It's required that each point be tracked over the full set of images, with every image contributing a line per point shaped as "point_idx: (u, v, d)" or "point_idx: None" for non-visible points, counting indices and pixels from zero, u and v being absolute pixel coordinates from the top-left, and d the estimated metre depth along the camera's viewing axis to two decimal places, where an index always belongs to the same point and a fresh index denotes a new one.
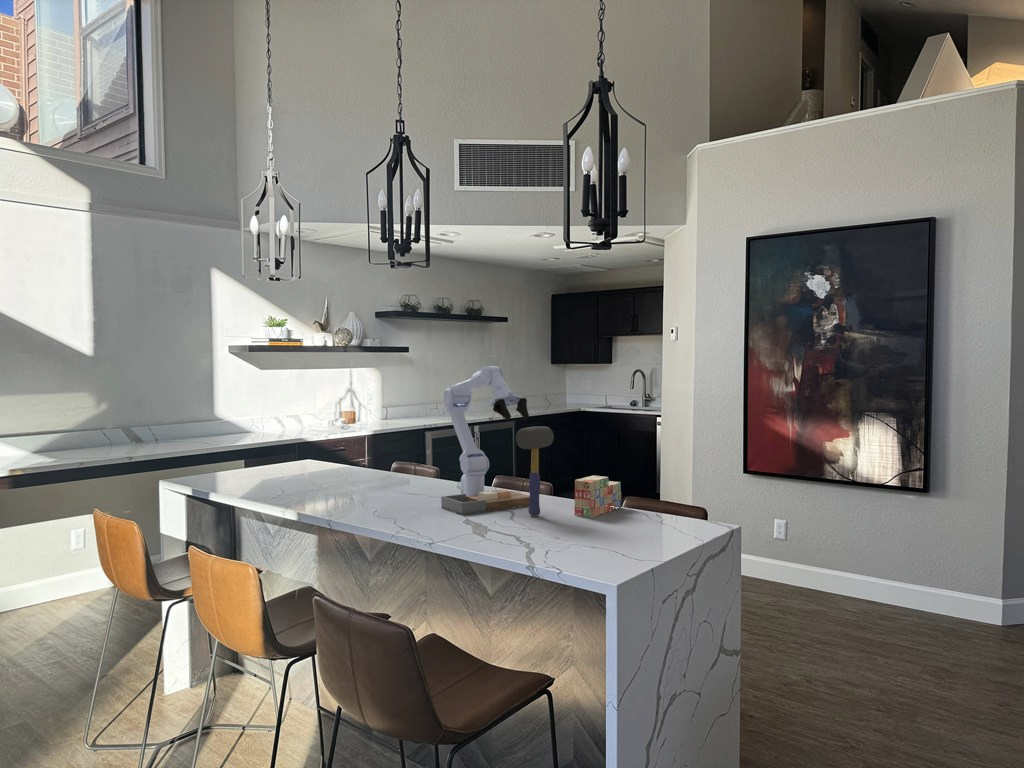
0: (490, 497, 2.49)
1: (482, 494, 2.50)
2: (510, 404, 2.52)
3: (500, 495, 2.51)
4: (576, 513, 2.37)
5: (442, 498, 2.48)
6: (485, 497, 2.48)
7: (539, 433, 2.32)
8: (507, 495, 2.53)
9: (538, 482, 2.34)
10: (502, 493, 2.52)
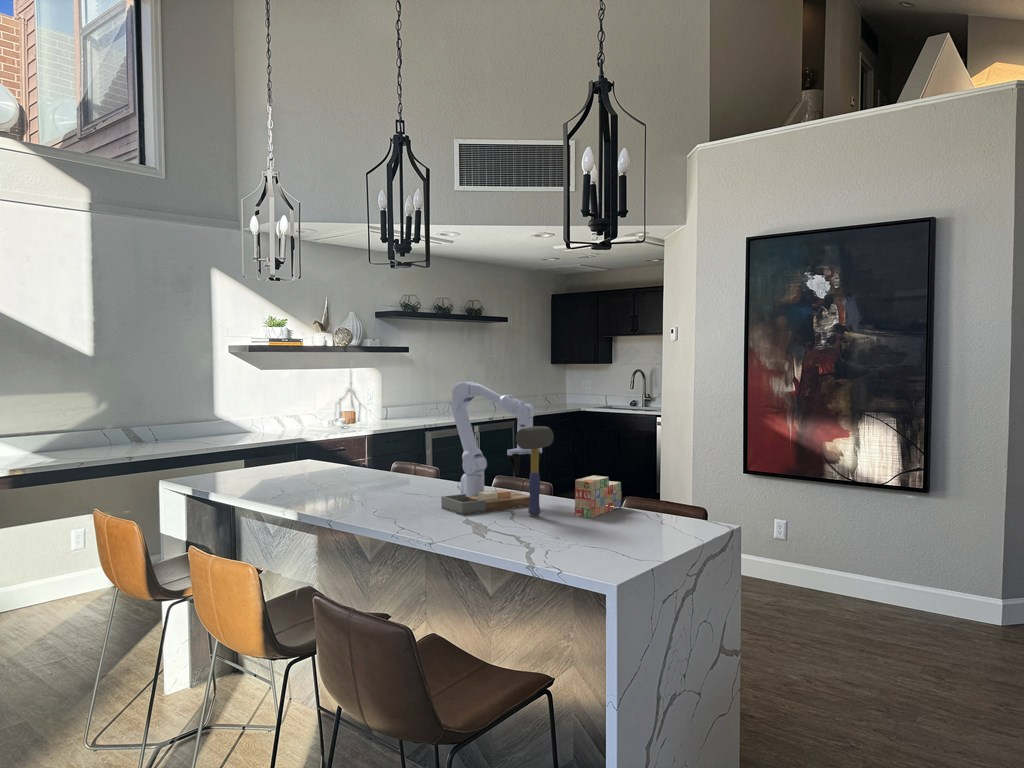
0: (490, 497, 2.49)
1: (482, 494, 2.50)
2: None
3: (500, 495, 2.51)
4: (576, 513, 2.37)
5: (442, 498, 2.48)
6: (485, 497, 2.48)
7: (539, 433, 2.32)
8: (507, 495, 2.53)
9: (538, 482, 2.34)
10: (502, 493, 2.52)
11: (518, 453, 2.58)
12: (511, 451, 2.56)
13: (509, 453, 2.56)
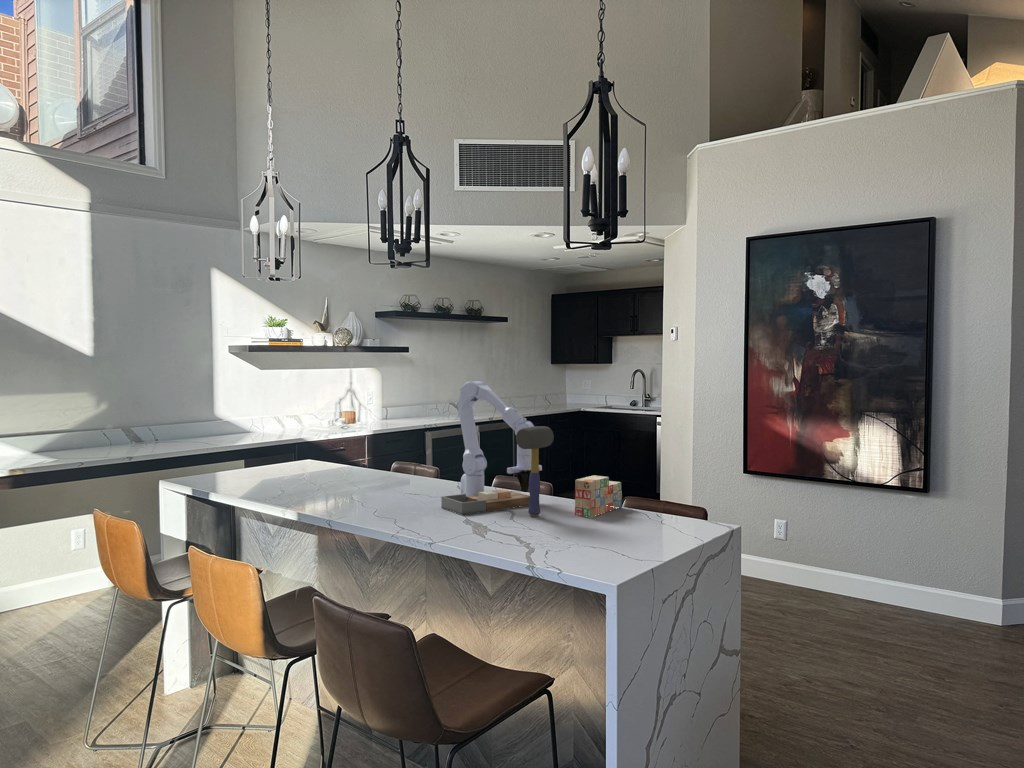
0: (490, 497, 2.49)
1: (482, 494, 2.50)
2: None
3: (500, 495, 2.51)
4: (576, 512, 2.38)
5: (442, 498, 2.48)
6: (485, 497, 2.48)
7: (539, 433, 2.32)
8: (507, 495, 2.53)
9: (538, 482, 2.34)
10: (502, 493, 2.52)
11: (518, 471, 2.58)
12: (511, 469, 2.56)
13: (509, 471, 2.56)
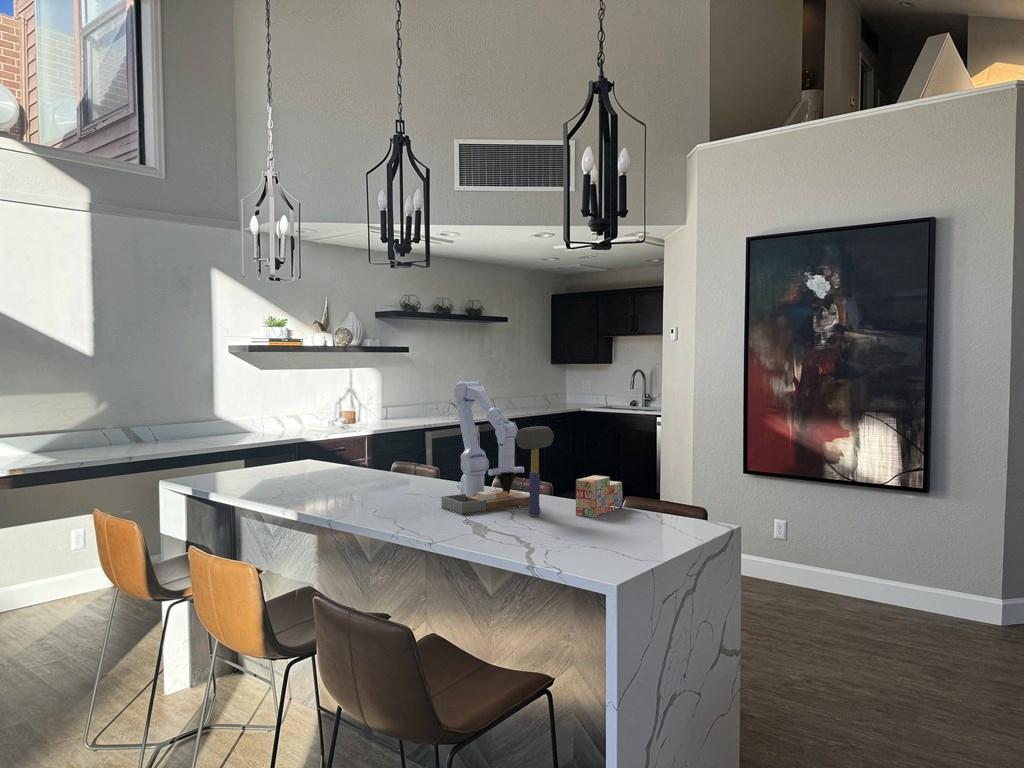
0: (488, 497, 2.49)
1: (480, 494, 2.49)
2: None
3: (497, 495, 2.51)
4: (577, 512, 2.38)
5: (442, 498, 2.48)
6: (483, 497, 2.48)
7: (539, 433, 2.32)
8: (504, 495, 2.52)
9: (538, 482, 2.34)
10: (499, 493, 2.51)
11: (499, 473, 2.54)
12: (492, 471, 2.51)
13: (490, 473, 2.51)
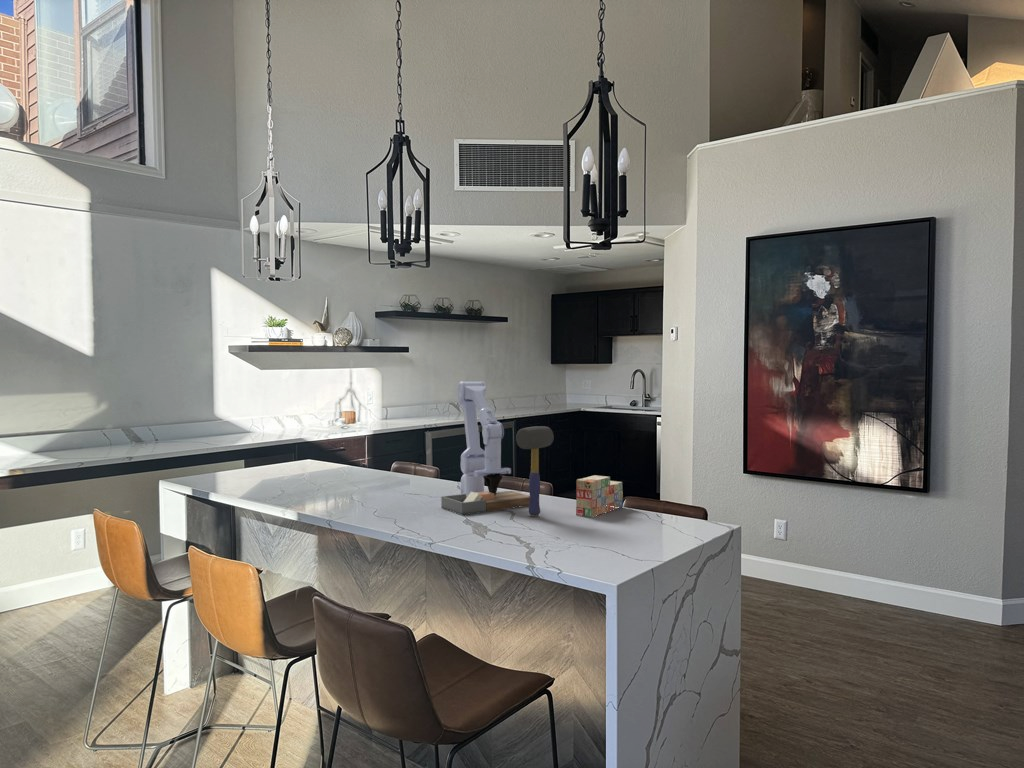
0: None
1: None
2: None
3: (483, 497, 2.47)
4: (578, 512, 2.38)
5: (442, 498, 2.48)
6: None
7: (539, 433, 2.32)
8: (490, 497, 2.49)
9: (538, 482, 2.34)
10: (485, 495, 2.48)
11: (485, 474, 2.50)
12: (478, 472, 2.48)
13: (476, 474, 2.48)
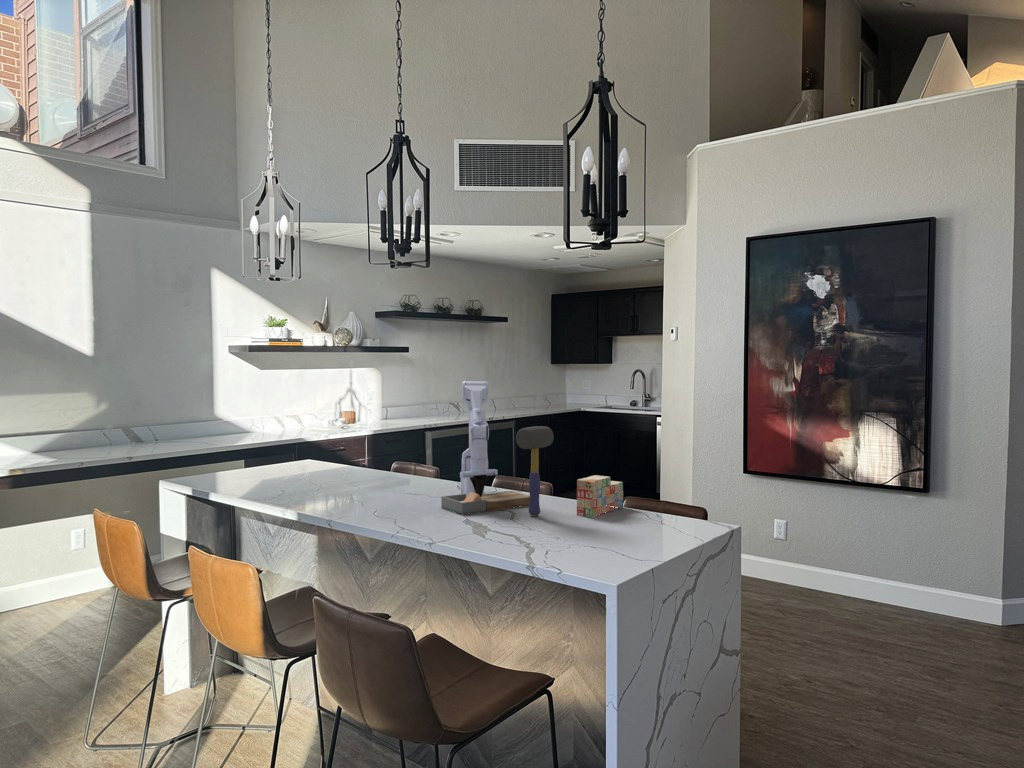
0: None
1: None
2: None
3: None
4: (578, 512, 2.38)
5: (442, 498, 2.48)
6: None
7: (539, 433, 2.32)
8: (478, 499, 2.46)
9: (538, 482, 2.34)
10: None
11: (471, 476, 2.47)
12: (464, 474, 2.44)
13: (461, 476, 2.44)
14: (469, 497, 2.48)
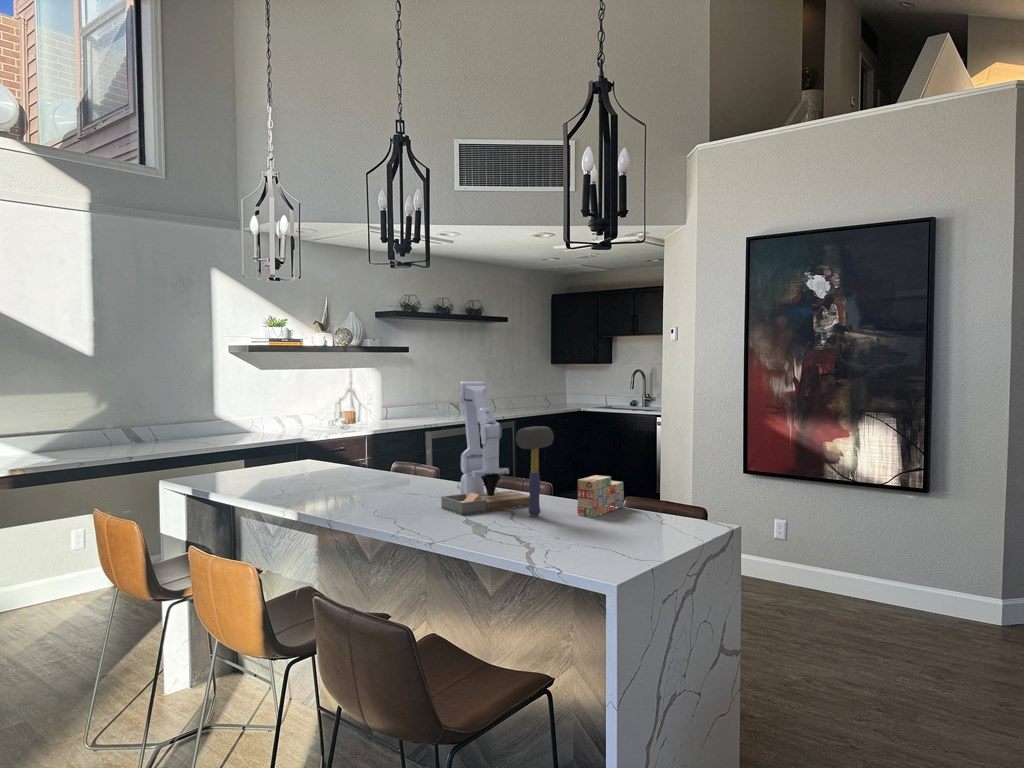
0: None
1: None
2: None
3: None
4: (579, 512, 2.38)
5: (442, 498, 2.48)
6: None
7: (539, 433, 2.32)
8: (478, 500, 2.46)
9: (538, 482, 2.34)
10: None
11: (483, 474, 2.50)
12: (476, 473, 2.47)
13: (474, 475, 2.47)
14: (469, 497, 2.48)
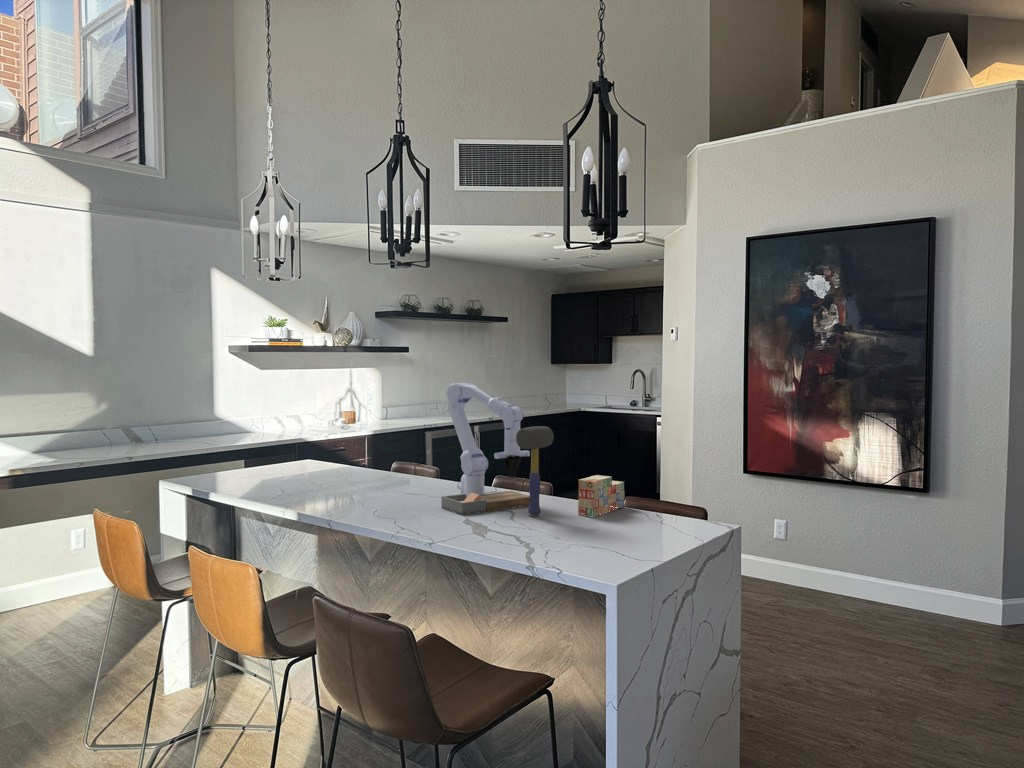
0: None
1: None
2: None
3: None
4: (580, 512, 2.38)
5: (442, 498, 2.48)
6: None
7: (539, 433, 2.32)
8: (478, 500, 2.46)
9: (538, 482, 2.34)
10: None
11: (505, 456, 2.56)
12: (498, 454, 2.53)
13: (496, 456, 2.54)
14: (469, 497, 2.48)
